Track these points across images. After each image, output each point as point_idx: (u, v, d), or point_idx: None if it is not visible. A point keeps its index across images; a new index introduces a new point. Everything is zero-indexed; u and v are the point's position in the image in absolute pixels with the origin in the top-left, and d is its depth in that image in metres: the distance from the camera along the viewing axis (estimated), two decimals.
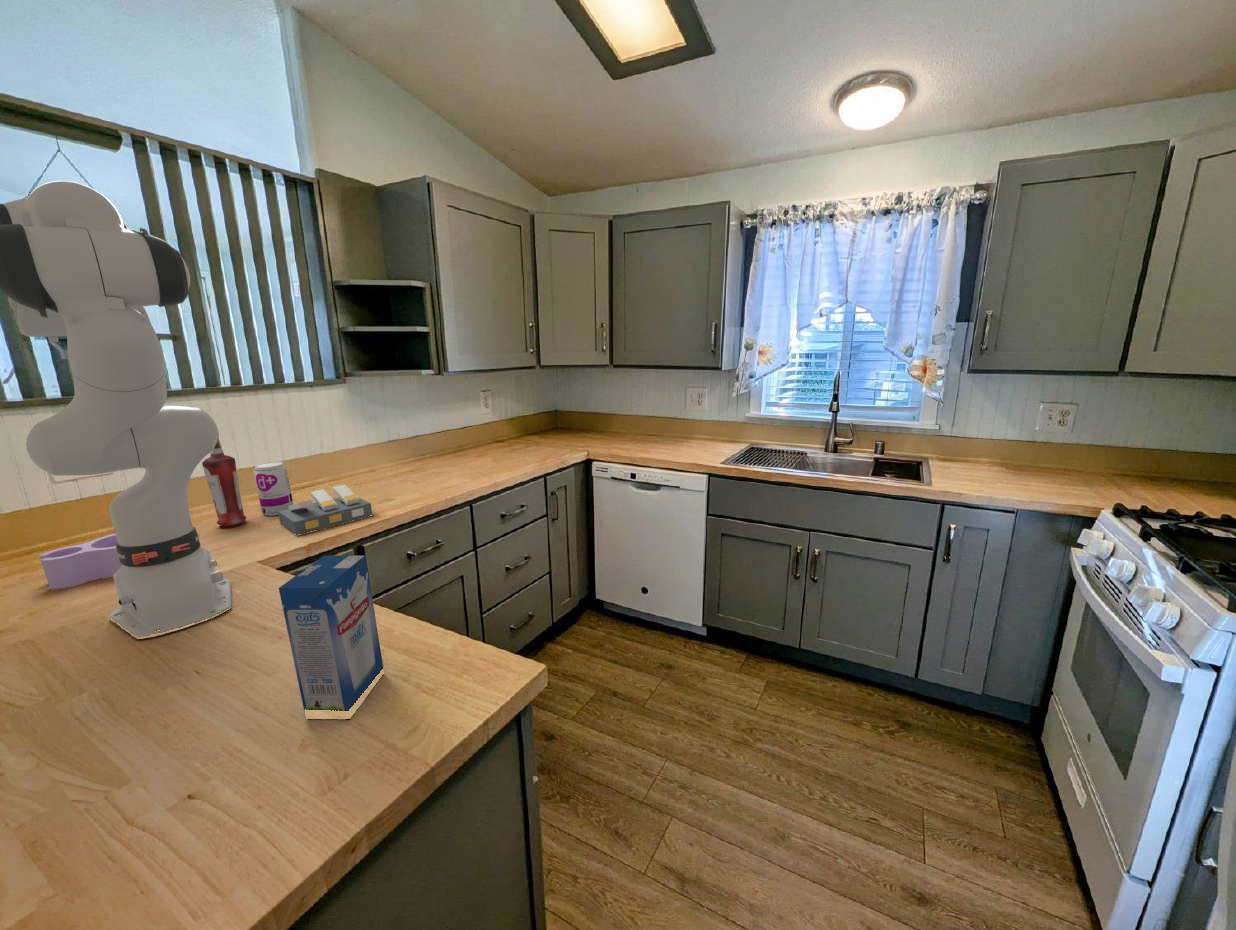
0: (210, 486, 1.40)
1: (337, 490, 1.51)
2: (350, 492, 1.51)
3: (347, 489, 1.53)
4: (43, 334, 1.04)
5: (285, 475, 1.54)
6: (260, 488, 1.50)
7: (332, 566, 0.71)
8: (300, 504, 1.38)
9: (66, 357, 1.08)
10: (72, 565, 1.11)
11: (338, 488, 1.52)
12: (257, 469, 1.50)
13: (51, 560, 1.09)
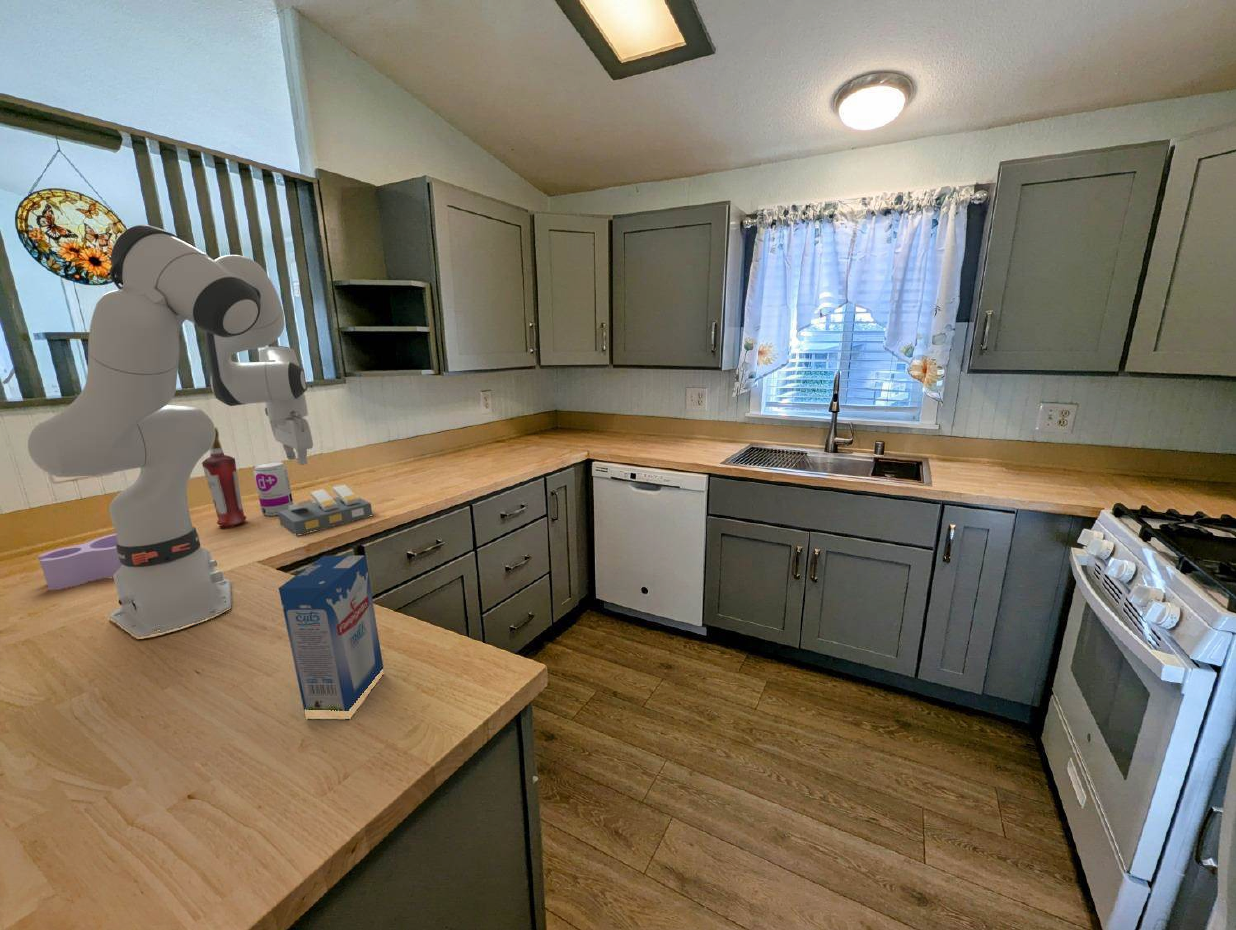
0: (210, 486, 1.40)
1: (337, 490, 1.51)
2: (350, 492, 1.51)
3: (347, 489, 1.53)
4: None
5: (285, 475, 1.54)
6: (260, 488, 1.50)
7: (332, 566, 0.71)
8: (300, 504, 1.38)
9: None
10: (71, 566, 1.10)
11: (338, 488, 1.52)
12: (257, 469, 1.50)
13: (50, 561, 1.08)
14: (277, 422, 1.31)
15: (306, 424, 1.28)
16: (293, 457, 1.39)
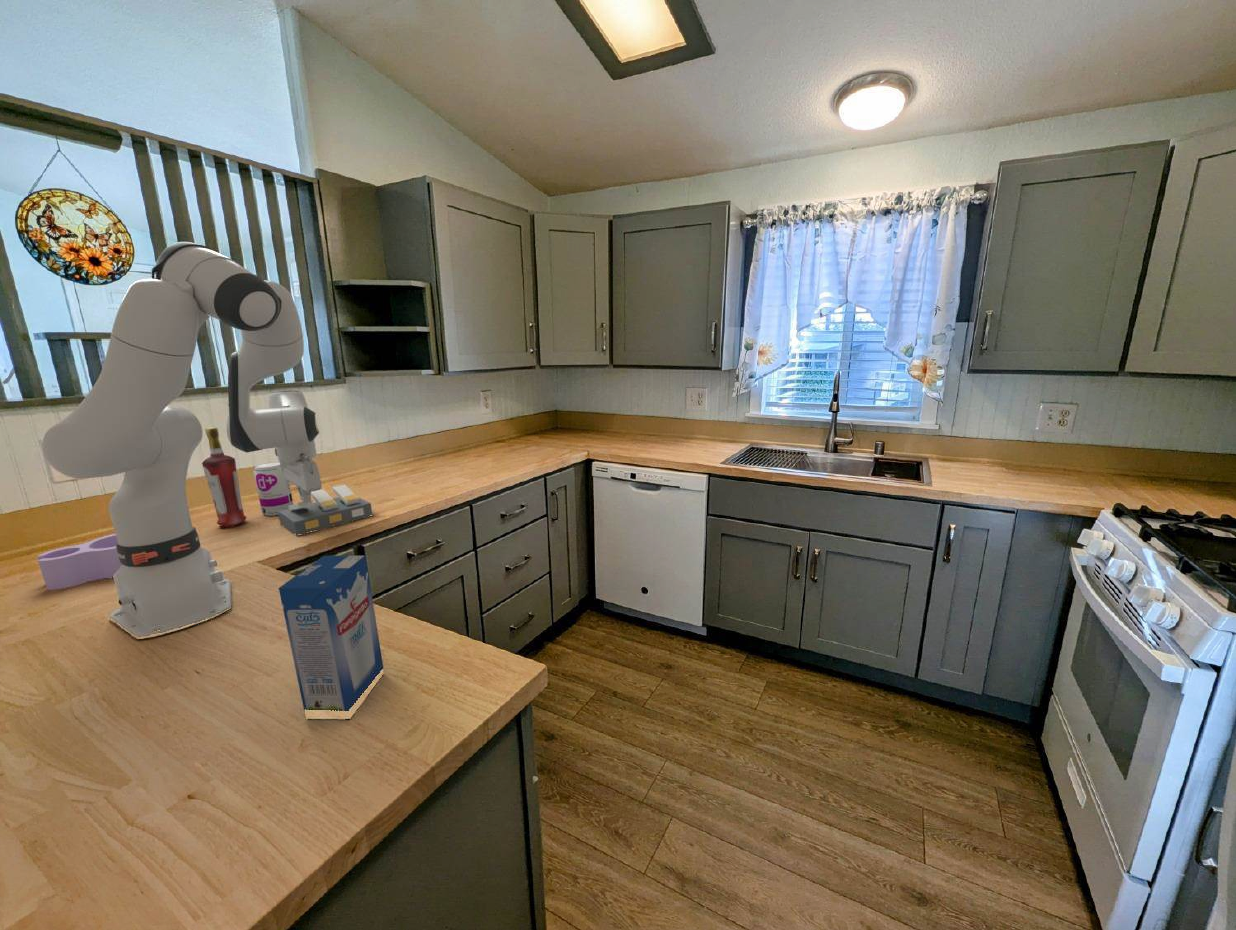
0: (210, 486, 1.40)
1: (337, 490, 1.51)
2: (350, 492, 1.51)
3: (347, 489, 1.53)
4: None
5: None
6: (260, 488, 1.50)
7: (332, 566, 0.71)
8: (300, 504, 1.38)
9: None
10: (69, 566, 1.10)
11: (338, 488, 1.52)
12: (257, 469, 1.50)
13: (48, 561, 1.08)
14: (287, 464, 1.34)
15: (315, 466, 1.31)
16: None
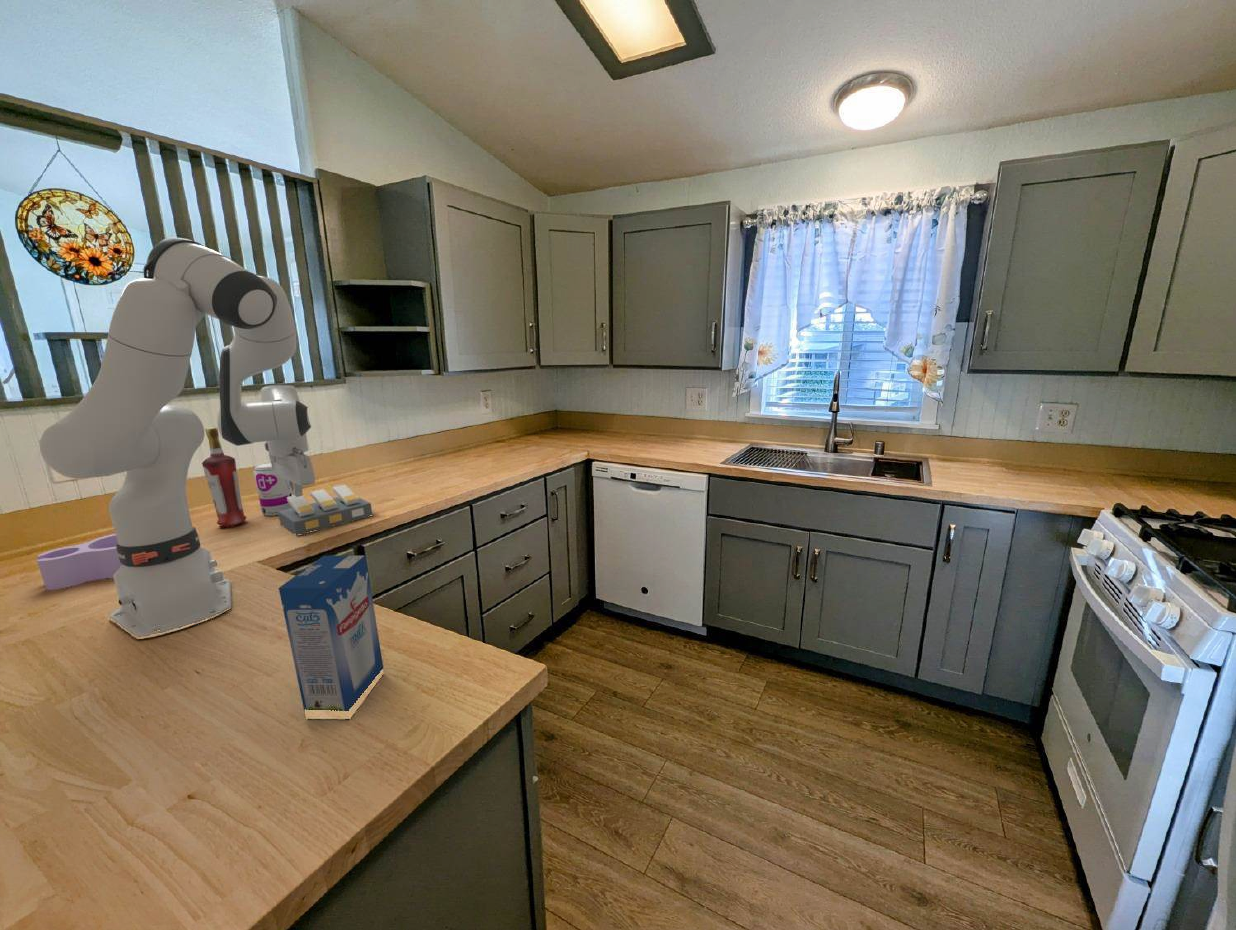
0: (210, 486, 1.40)
1: (337, 490, 1.51)
2: (350, 492, 1.51)
3: (347, 489, 1.53)
4: None
5: None
6: (260, 488, 1.50)
7: (332, 566, 0.71)
8: (302, 513, 1.39)
9: None
10: (68, 566, 1.10)
11: (338, 488, 1.52)
12: (257, 469, 1.50)
13: (47, 561, 1.08)
14: (278, 458, 1.33)
15: (308, 460, 1.31)
16: None
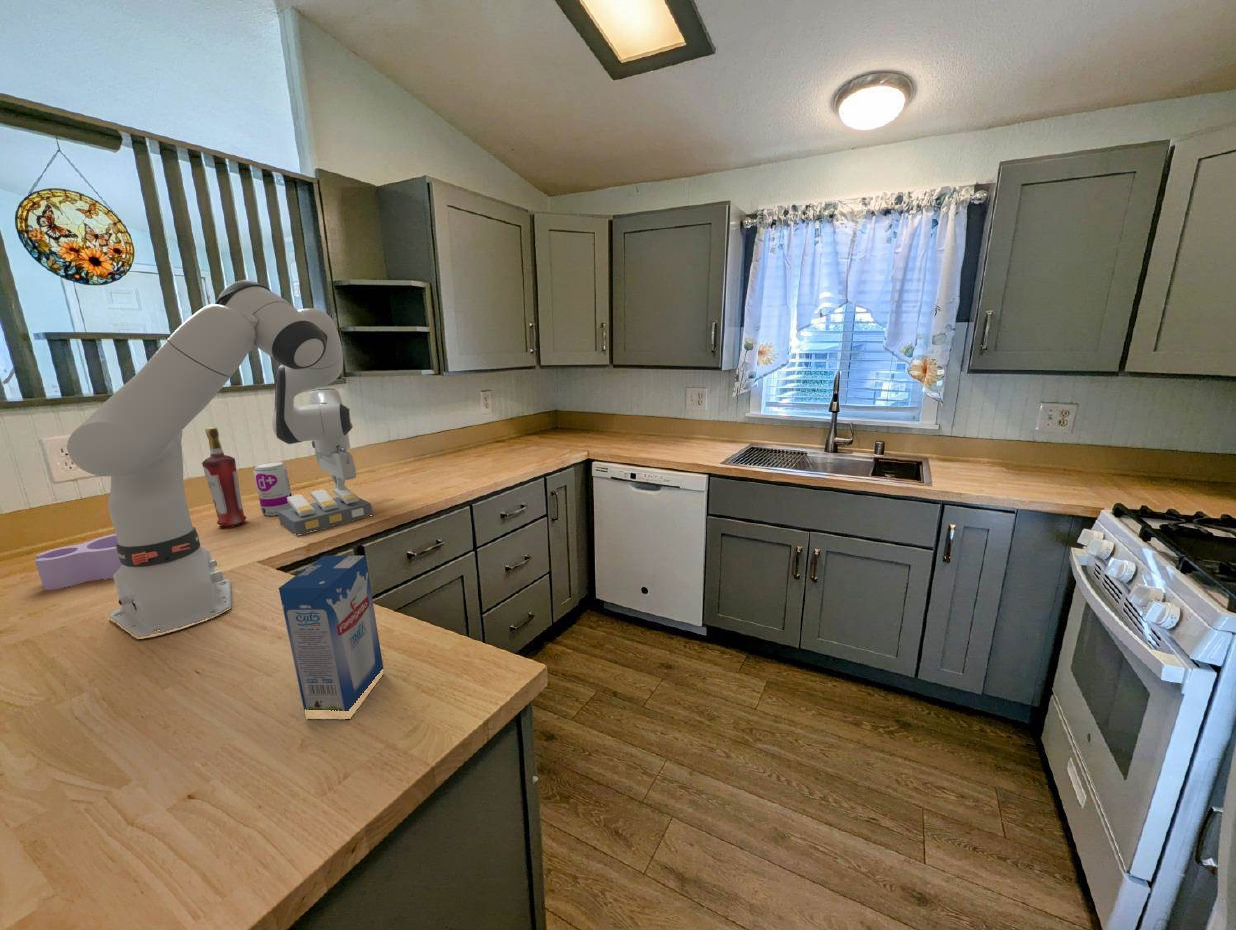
0: (210, 486, 1.40)
1: (337, 491, 1.51)
2: (350, 492, 1.51)
3: (347, 489, 1.53)
4: None
5: (285, 475, 1.54)
6: (260, 488, 1.50)
7: (332, 566, 0.71)
8: (302, 513, 1.39)
9: None
10: (65, 566, 1.10)
11: (338, 489, 1.52)
12: (257, 469, 1.50)
13: (44, 561, 1.08)
14: (324, 455, 1.48)
15: (350, 457, 1.46)
16: None
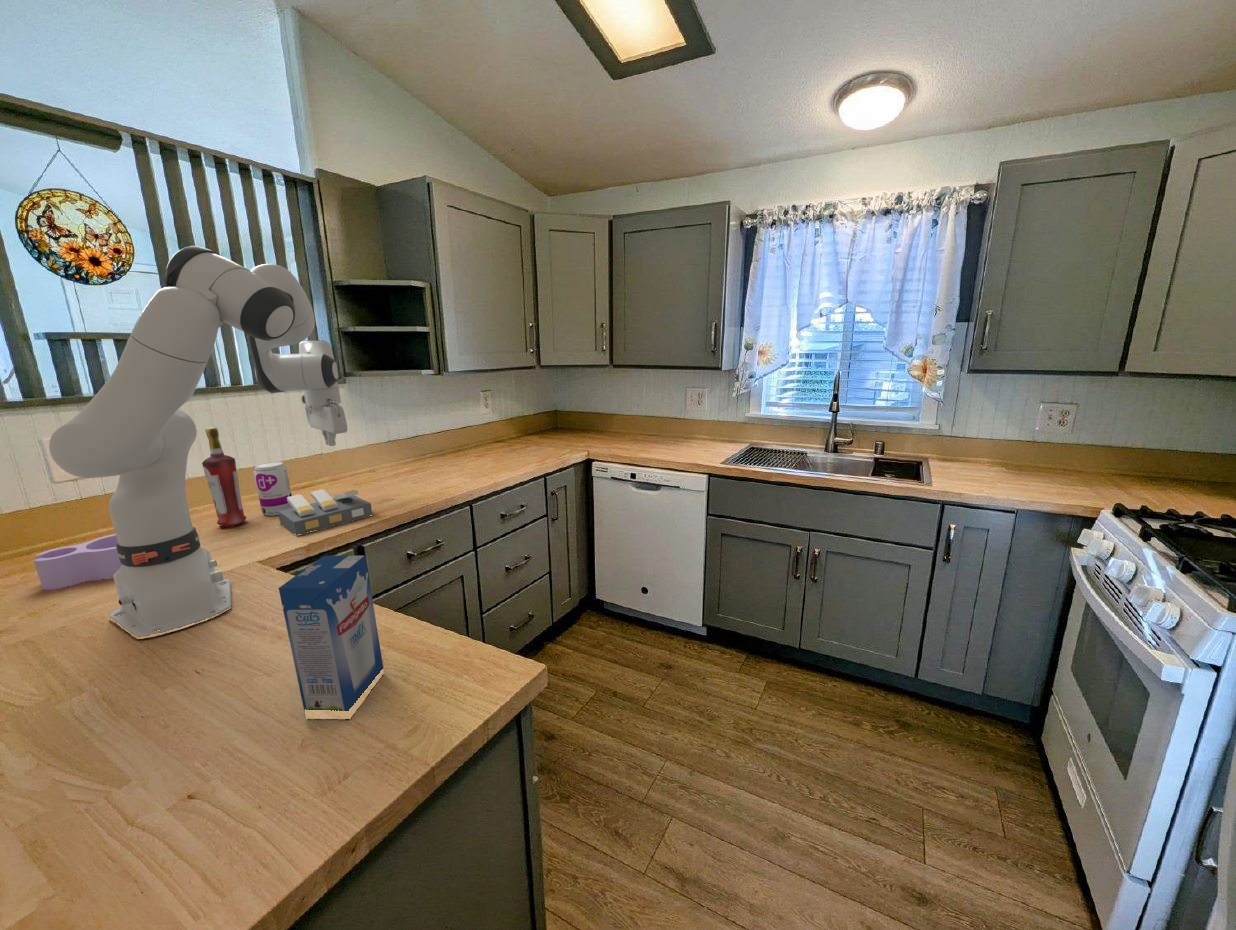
0: (210, 486, 1.40)
1: (337, 494, 1.52)
2: None
3: None
4: None
5: (285, 475, 1.54)
6: (260, 488, 1.50)
7: (331, 566, 0.71)
8: (302, 513, 1.39)
9: None
10: (63, 566, 1.10)
11: None
12: (257, 469, 1.50)
13: (43, 561, 1.08)
14: (314, 409, 1.45)
15: (342, 410, 1.42)
16: None
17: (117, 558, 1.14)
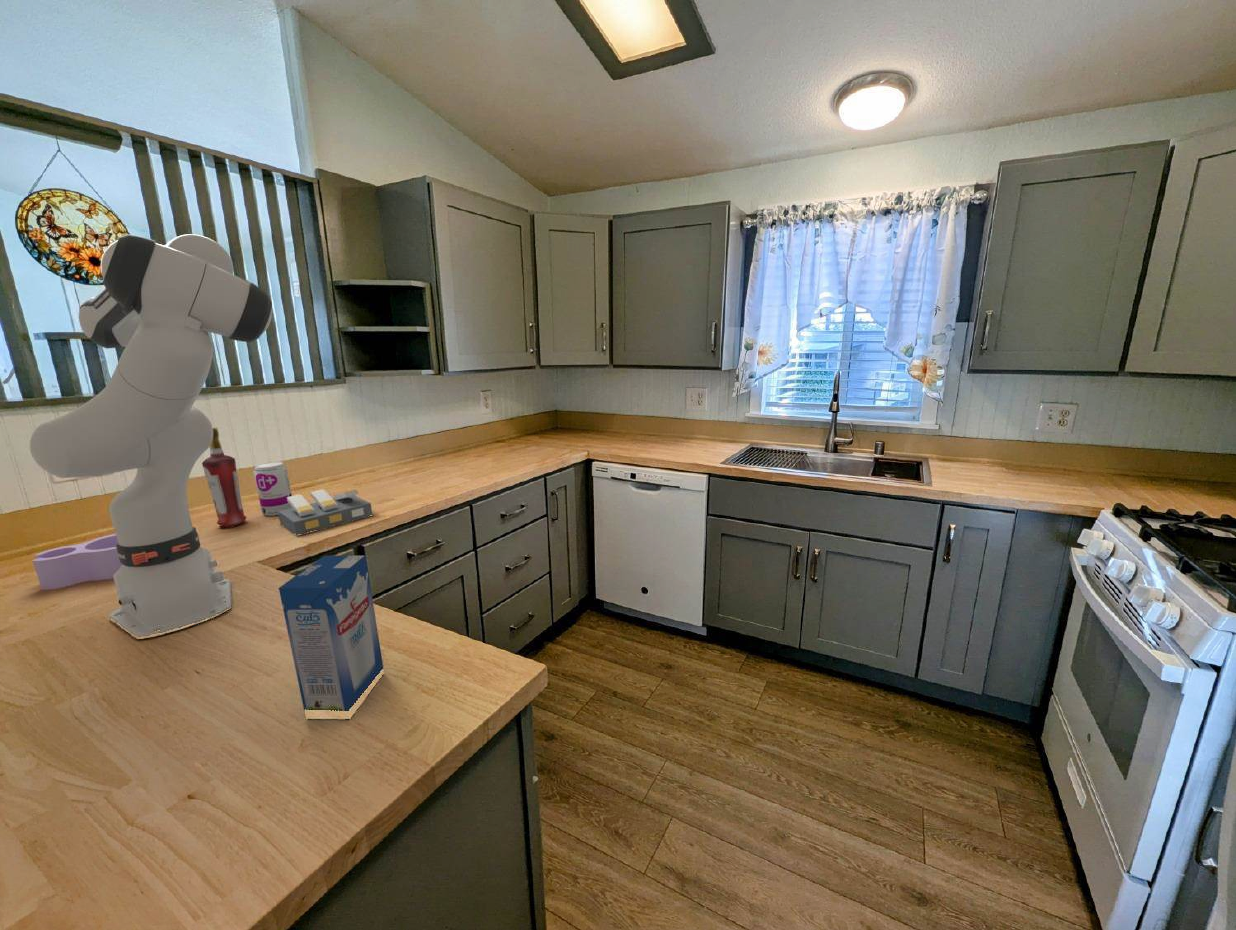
0: (210, 486, 1.40)
1: None
2: None
3: None
4: None
5: (285, 475, 1.54)
6: (260, 488, 1.50)
7: (332, 566, 0.71)
8: (302, 513, 1.39)
9: None
10: (62, 566, 1.10)
11: None
12: (257, 469, 1.50)
13: (41, 561, 1.08)
14: None
15: None
16: None
17: (115, 559, 1.14)
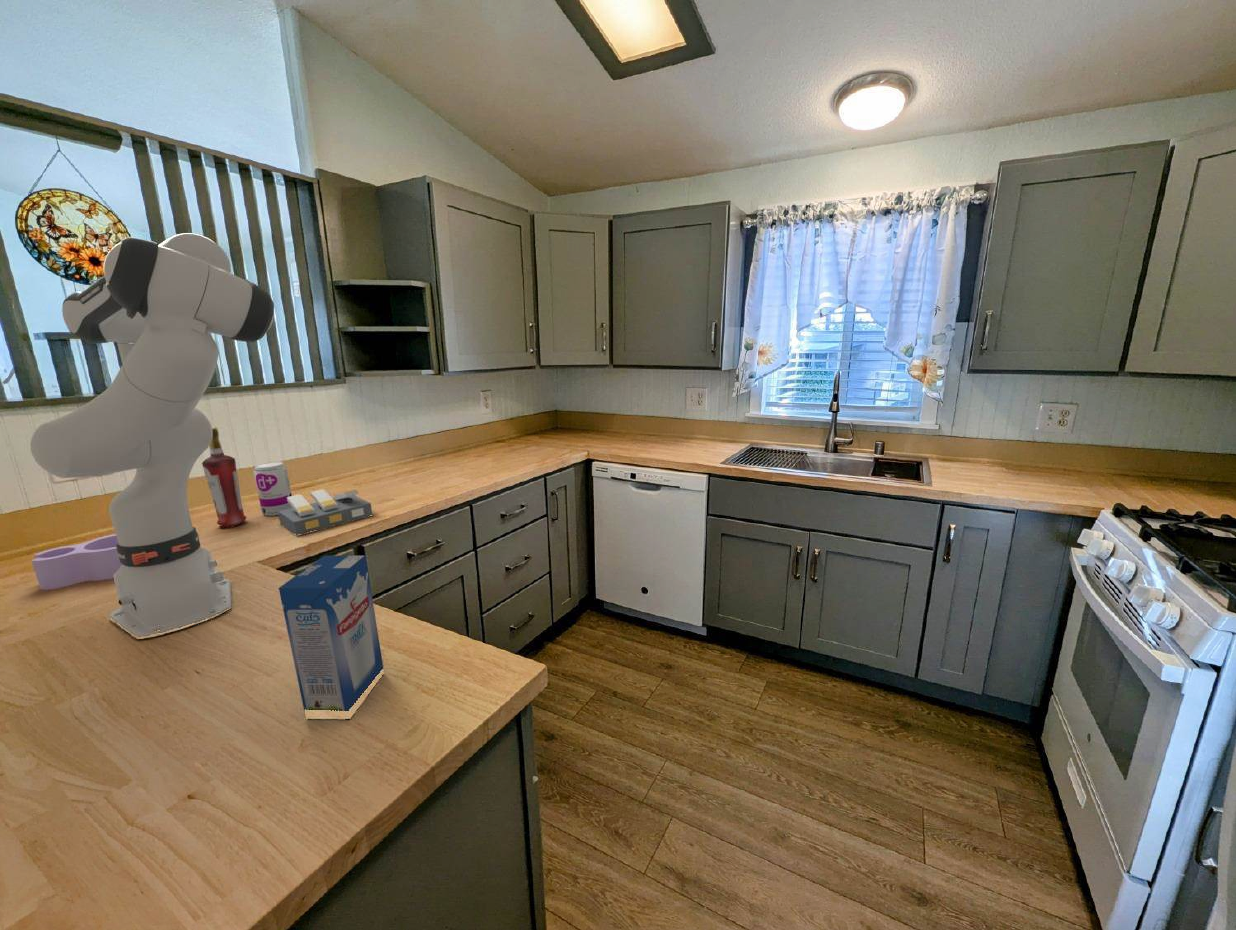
0: (210, 486, 1.40)
1: None
2: None
3: None
4: None
5: (285, 475, 1.54)
6: (260, 488, 1.50)
7: (332, 566, 0.71)
8: (302, 513, 1.39)
9: None
10: (60, 566, 1.10)
11: None
12: (257, 469, 1.50)
13: (40, 561, 1.08)
14: None
15: None
16: None
17: (113, 559, 1.14)
